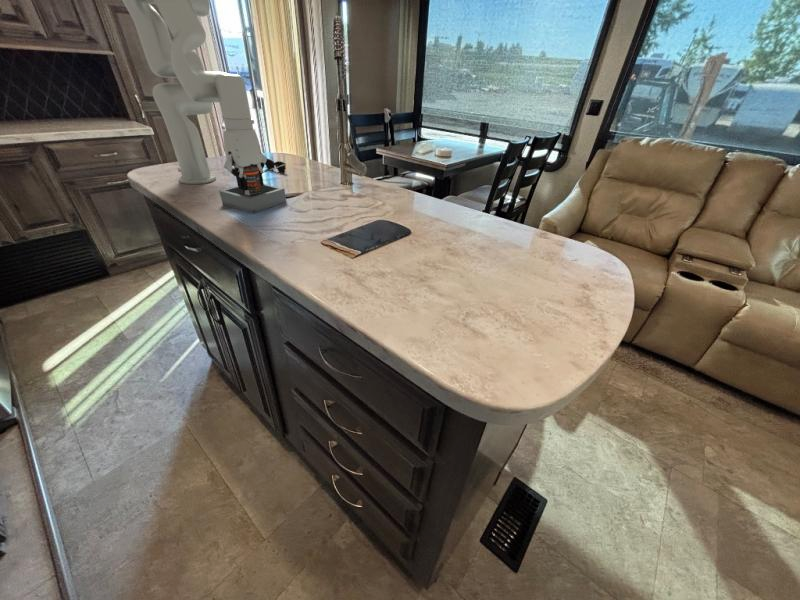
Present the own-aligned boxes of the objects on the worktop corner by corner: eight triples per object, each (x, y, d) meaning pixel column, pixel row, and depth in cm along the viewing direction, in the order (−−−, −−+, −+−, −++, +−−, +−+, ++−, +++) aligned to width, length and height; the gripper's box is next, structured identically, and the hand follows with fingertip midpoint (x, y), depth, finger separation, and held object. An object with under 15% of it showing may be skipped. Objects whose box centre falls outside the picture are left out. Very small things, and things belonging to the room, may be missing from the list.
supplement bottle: (250, 200, 104) (242, 162, 98) (240, 196, 107) (231, 159, 101) (266, 196, 108) (260, 159, 102) (256, 192, 111) (249, 156, 105)
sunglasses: (287, 174, 142) (285, 162, 138) (257, 184, 131) (254, 172, 128) (266, 169, 147) (263, 157, 144) (235, 178, 136) (231, 166, 133)
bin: (222, 204, 106) (219, 190, 104) (256, 194, 117) (254, 181, 114) (253, 213, 101) (250, 199, 99) (286, 201, 112) (284, 188, 109)
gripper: (253, 121, 103) (264, 179, 114) (203, 126, 91) (220, 191, 101) (270, 123, 101) (280, 183, 111) (221, 129, 88) (237, 195, 98)
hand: (251, 186), depth 106 cm, fingers closed on supplement bottle, 5 cm apart
